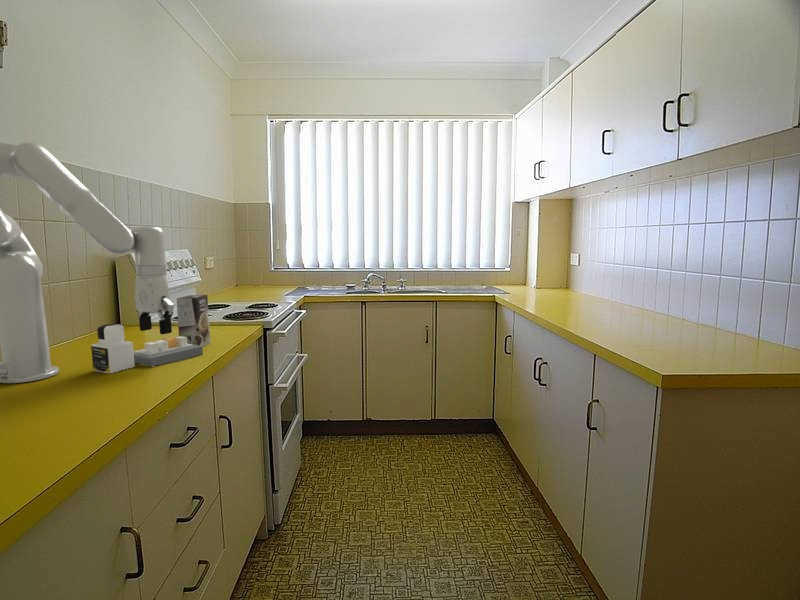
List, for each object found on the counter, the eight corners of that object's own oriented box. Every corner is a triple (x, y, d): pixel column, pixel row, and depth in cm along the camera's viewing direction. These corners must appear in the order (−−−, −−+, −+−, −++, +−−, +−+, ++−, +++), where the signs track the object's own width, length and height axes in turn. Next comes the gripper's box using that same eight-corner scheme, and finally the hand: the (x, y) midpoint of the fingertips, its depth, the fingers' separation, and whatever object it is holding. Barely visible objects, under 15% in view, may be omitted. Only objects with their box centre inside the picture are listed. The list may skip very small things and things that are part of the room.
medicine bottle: (92, 371, 130) (88, 326, 128) (119, 364, 136) (115, 321, 134) (109, 374, 126) (105, 328, 125) (135, 367, 132) (131, 323, 131)
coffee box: (199, 349, 152) (196, 297, 150) (179, 349, 153) (175, 298, 150) (211, 342, 161) (208, 294, 159) (192, 343, 162) (188, 294, 159)
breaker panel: (151, 367, 132) (149, 347, 132) (126, 361, 139) (125, 342, 138) (202, 354, 146) (201, 336, 145) (178, 349, 152) (177, 332, 151)
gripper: (120, 271, 138) (125, 331, 141) (156, 273, 129) (161, 337, 131) (146, 269, 145) (150, 326, 147) (182, 271, 135) (186, 332, 138)
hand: (155, 331), depth 139 cm, fingers open, 9 cm apart
